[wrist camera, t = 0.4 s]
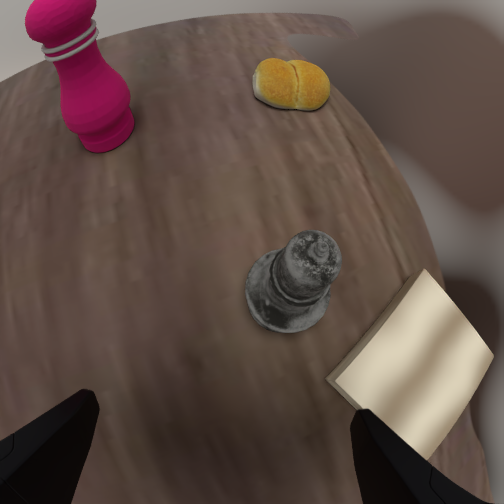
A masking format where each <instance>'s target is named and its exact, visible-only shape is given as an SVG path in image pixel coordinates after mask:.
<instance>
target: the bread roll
mask: <svg viewBox="0 0 504 504" xmlns="http://www.w3.org/2000/svg"><path fill="white" fill-rule="evenodd" d="M253 91H254V95H255V97H256V98H258V99H259V100H261V101H263V102H265V103H266V104H269V105H271V106H273V107H276V108H282V109H298V110H316V109H318V108H319V107H321V106H322V105H323V104H324V103H325V102H326V100H327V99H328V97H329V94H330V83H329V79H328V77H327V76H326V74H325V73H324V71H322V70H321V69H320V68H319V67H318V66H316V65H314V64H312V63H309V62H305V61H302V60H292V61H288V62H285V61H283V60H280V59H276V58H269V59H266V60H264V61H262V62H260V64H259V65H258V67H257V68H256V70H255V74H254V75H253Z"/></svg>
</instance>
